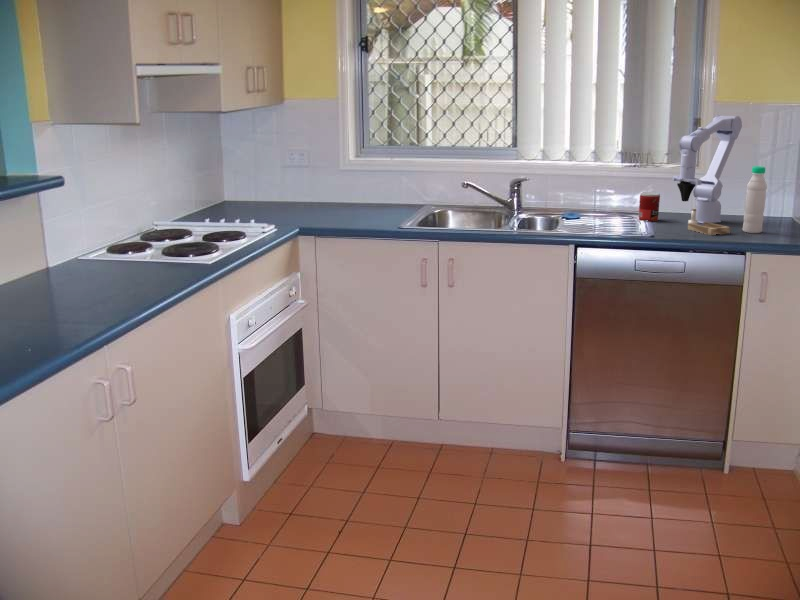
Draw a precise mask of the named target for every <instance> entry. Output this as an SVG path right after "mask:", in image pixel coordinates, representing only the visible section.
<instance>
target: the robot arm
mask: <svg viewBox="0 0 800 600" xmlns="http://www.w3.org/2000/svg"><path fill="white" fill-rule="evenodd" d="M742 128H743V123H742V118H741V117H740V116H739V115H721V114H718V115H716V116H715V117H713V119H712V121H711V122H710V123H708V124H707V125H706V126H705V127H704V126H699V127H697V129H696V130H694V131H693V132H691V133H690V134H689V135H683V136H682V137H681V138H680V140H679V142H678V147H679V154H680V155H681V157H680V165H679V175H672V182H677V184H676V185H677V187H678V189H679V192H680V197H681V202H689V200H690V197H691V194H693V197H694V198H695V200H696V205H695V206H696V207H695V209H697V210H696V220H698V224H703V222H709V223H714V224H718V223H721V222H722V221H721V214H722V213H721V211H722V203H721V201H720V200H719V199H720V197H721V196H722V190H723V182H722V181H721V180H720V178H721V176H722V172H723V170H724V168H725V166H726V163H727V162H728V159H729V157H730V154H731V152H732V149H733V147H734V144H735V142H736V140H737V139H738V138H739V135H740V132H741V130H742ZM714 133H715V135H716V138H718V139H719V140H720V141H719V144H718V146H717V149H716V151H715V153H714V155H713V158H712V159H711V160H712V161H711V162H710V165H709V167H708V169H707V172H706V174H705V175H704V176H702V177H700V178H697V177H695V176H696V168H697V157H698V156H697V154H698V151H699V150H700V149H701V147H702V145H703V144H704V143H705V142H707V141H708V140H709V139H711V135H713V134H714ZM678 182H679V183H678Z"/></svg>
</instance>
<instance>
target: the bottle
mask: <svg viewBox="0 0 800 600" xmlns="http://www.w3.org/2000/svg"><path fill="white" fill-rule="evenodd" d="M696 210H697V209H696V208H691V213H690V214H691V215H690V219H688V220H687V225H688V224H689V223H692V224H697V225H699V223H698V220H696Z"/></svg>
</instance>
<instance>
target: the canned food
mask: <svg viewBox="0 0 800 600" xmlns="http://www.w3.org/2000/svg"><path fill="white" fill-rule="evenodd" d="M660 198H661V194H660V193H657V192H650V191H649V192H648V191H647V192H640V194H639V204H638V205H639V206H638V207H639V208H638V220H639V221H641V220H648V221H647V222H657V221H658V220H659V213H660V212H659V210H660V203H661V202H660V200H661V199H660Z"/></svg>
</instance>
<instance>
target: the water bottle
mask: <svg viewBox="0 0 800 600" xmlns="http://www.w3.org/2000/svg"><path fill="white" fill-rule="evenodd" d="M765 173H766V167H765V166H753V167H751V174H752V176H751V178H750V180H749V181H748V183H747V184H746V193H745V194H746V195H745V199H744V200H745V202H744V214H743V224H742V232H744V233H746V232H747V234H761V233H762V232H763V222H764V212H765V207H766V206H765V205H766V197H767V195H766V194H767V188H768V186H767V183H766V180H765V177H764V175H765Z"/></svg>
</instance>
